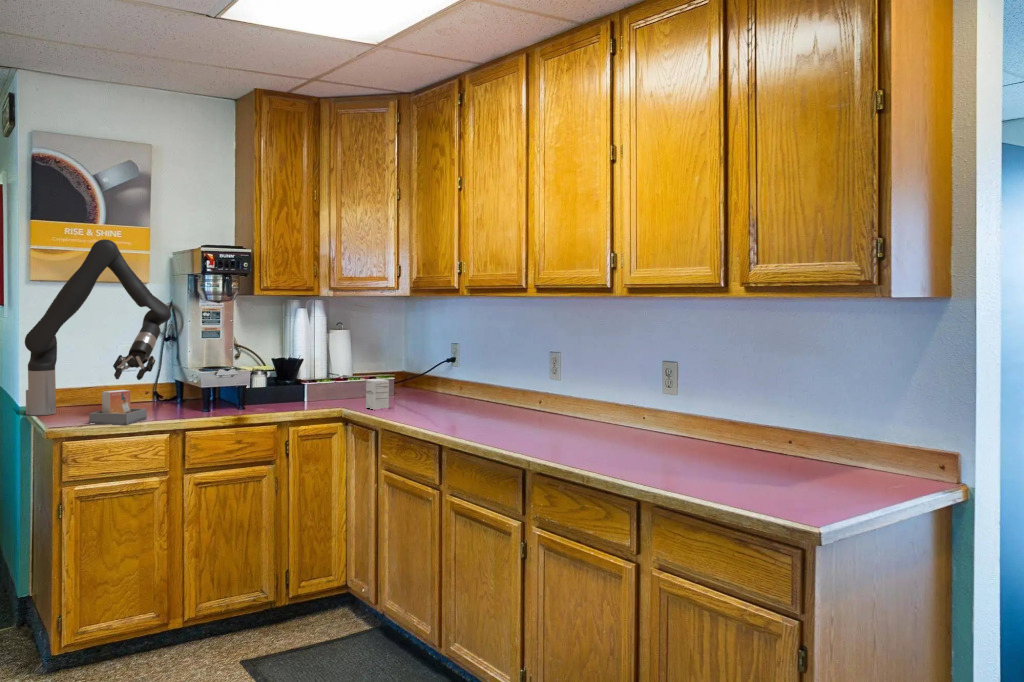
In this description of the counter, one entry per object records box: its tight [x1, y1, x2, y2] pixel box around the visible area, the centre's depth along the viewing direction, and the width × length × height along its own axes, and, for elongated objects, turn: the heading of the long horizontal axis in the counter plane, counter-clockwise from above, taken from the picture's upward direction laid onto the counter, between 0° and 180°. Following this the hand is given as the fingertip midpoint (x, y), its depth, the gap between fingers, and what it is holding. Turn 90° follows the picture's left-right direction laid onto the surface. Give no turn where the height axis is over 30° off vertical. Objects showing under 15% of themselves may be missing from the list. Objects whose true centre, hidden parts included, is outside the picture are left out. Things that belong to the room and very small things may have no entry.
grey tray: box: [88, 407, 148, 426], centre depth 298 cm, size 14×14×4 cm
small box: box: [101, 389, 131, 414], centre depth 297 cm, size 8×6×10 cm
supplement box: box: [365, 378, 390, 410], centre depth 340 cm, size 7×7×13 cm
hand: (127, 378), depth 304 cm, fingers open, 8 cm apart
